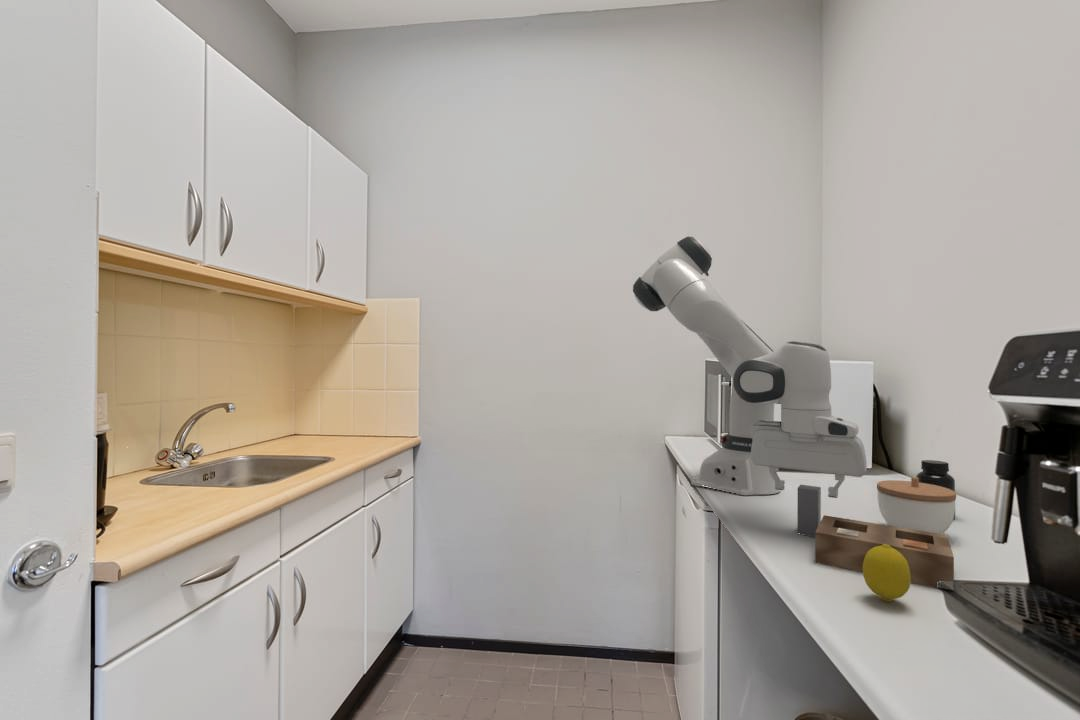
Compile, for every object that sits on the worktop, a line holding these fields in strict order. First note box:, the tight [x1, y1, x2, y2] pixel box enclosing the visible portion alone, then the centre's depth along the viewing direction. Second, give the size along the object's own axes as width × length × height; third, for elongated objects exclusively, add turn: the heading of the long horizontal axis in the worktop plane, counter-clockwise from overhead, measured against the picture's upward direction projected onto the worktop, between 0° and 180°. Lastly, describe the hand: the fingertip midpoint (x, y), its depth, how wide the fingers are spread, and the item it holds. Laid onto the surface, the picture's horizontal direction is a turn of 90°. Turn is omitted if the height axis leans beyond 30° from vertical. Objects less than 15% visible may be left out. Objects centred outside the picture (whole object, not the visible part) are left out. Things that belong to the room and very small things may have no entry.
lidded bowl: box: [876, 476, 957, 534], centre depth 99 cm, size 13×13×11 cm
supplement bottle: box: [916, 459, 956, 519], centre depth 111 cm, size 7×7×12 cm
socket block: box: [814, 514, 955, 589], centre depth 83 cm, size 18×12×5 cm, turn 54°
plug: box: [796, 484, 822, 537], centre depth 99 cm, size 4×4×9 cm
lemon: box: [862, 544, 912, 603], centre depth 70 cm, size 6×6×8 cm
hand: (805, 493), depth 99 cm, fingers open, 8 cm apart
